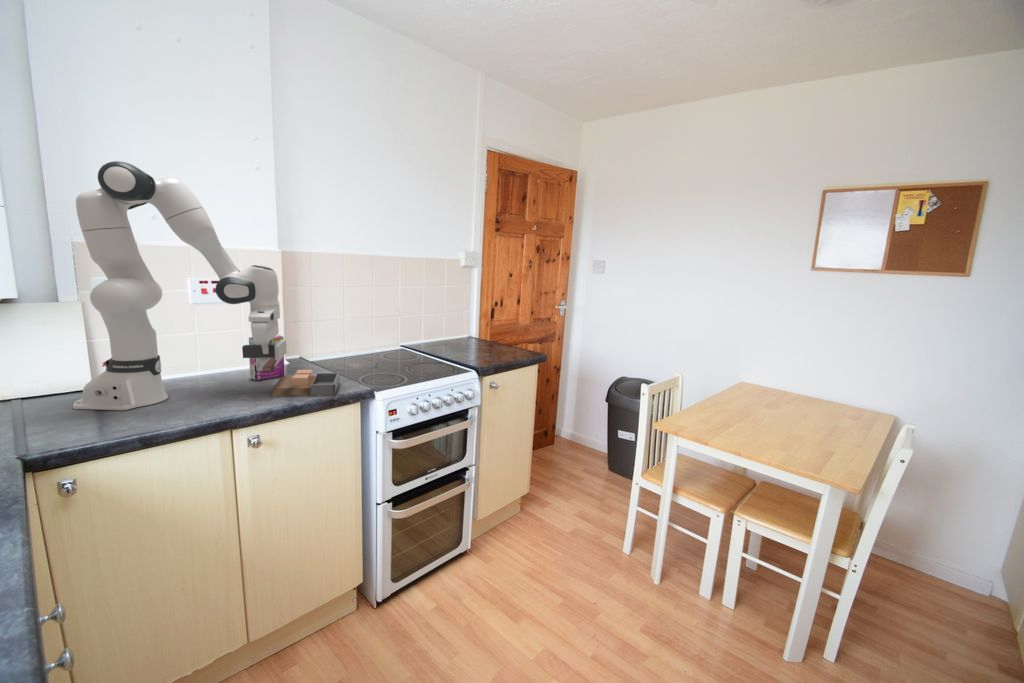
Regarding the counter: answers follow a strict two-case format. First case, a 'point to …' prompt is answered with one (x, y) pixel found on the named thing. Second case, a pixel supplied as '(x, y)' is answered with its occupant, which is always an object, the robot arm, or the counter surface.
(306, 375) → the tile
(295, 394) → the board
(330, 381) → the tray
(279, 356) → the scraper
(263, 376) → the candy bar box
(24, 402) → the counter surface
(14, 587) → the counter surface
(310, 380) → the tile
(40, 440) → the counter surface
